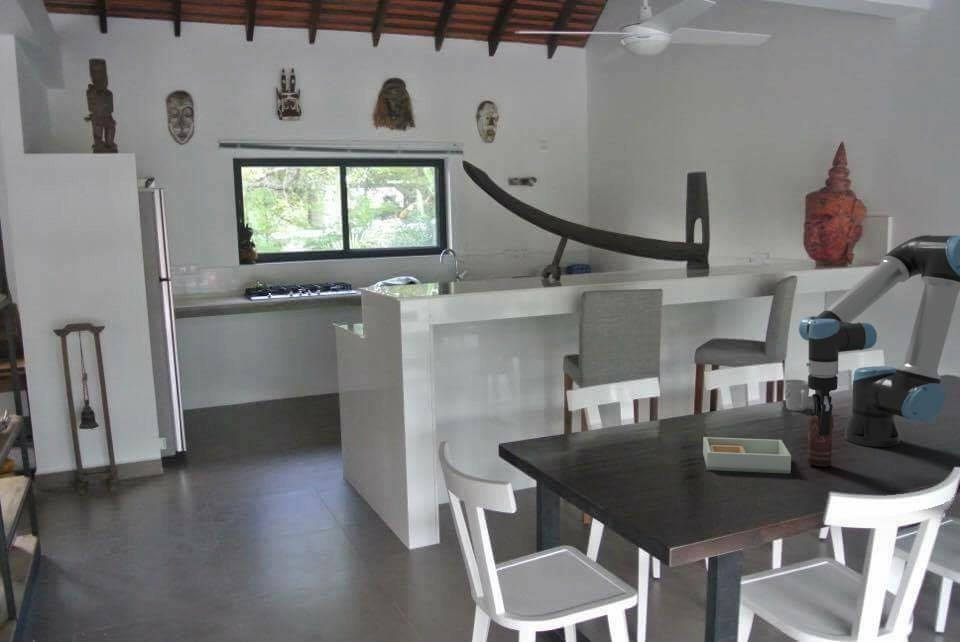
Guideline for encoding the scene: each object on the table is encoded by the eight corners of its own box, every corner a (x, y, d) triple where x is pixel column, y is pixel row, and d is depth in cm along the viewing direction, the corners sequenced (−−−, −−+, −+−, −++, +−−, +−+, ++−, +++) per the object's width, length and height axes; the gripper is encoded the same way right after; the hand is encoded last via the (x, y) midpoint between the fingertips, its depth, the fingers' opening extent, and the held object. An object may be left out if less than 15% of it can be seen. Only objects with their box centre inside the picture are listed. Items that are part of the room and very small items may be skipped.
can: (834, 467, 207) (836, 418, 205) (810, 466, 208) (811, 417, 206) (829, 460, 213) (830, 412, 211) (805, 459, 214) (806, 412, 212)
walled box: (780, 456, 219) (781, 439, 219) (790, 473, 205) (791, 456, 204) (703, 453, 224) (703, 437, 223) (707, 469, 209) (707, 452, 209)
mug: (816, 413, 264) (817, 386, 262) (792, 414, 264) (793, 386, 262) (802, 405, 275) (803, 379, 273) (779, 406, 275) (780, 379, 274)
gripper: (803, 369, 214) (801, 448, 218) (813, 380, 201) (811, 463, 205) (831, 369, 212) (829, 449, 216) (843, 380, 200) (841, 464, 203)
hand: (820, 456), depth 210 cm, fingers closed
